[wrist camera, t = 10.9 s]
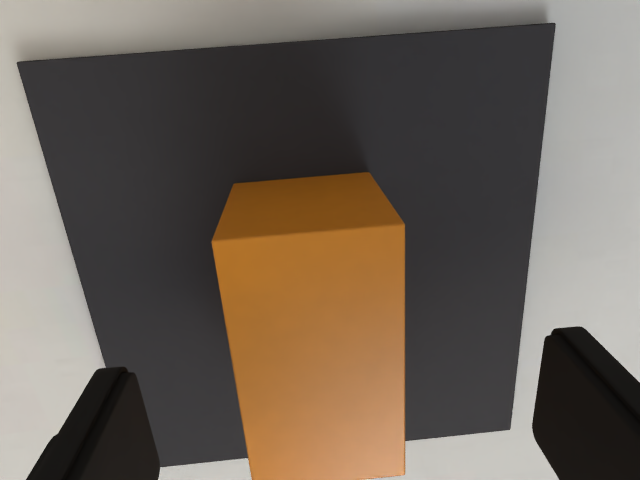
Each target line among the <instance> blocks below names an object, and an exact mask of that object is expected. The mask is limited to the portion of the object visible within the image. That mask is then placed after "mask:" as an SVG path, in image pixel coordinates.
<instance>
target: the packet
mask: <svg viewBox="0 0 640 480" xmlns="http://www.w3.org/2000/svg"><path fill="white" fill-rule="evenodd" d="M212 248H213V254H214V260H215V266H216V272H217V278H218V283H219V289H220V295H221V301H222V307H223V313H224V319H225V325H226V330H227V336H228V342H229V348H230V354H231V360H232V366H233V372H234V377H235V383H236V389H237V395H238V401H239V407H240V413H241V419H242V424H243V430H244V436H245V442H246V448H247V454H248V460H249V466H250V471H251V477H252V480H365V479H374V478H383V477H392V476H401V475H405V224H404V222H403V221H402V219H401V218H400V216H399V215H398V213H397V212H396V210H395V209H394V208H393V206H392V205H391V203H390V202H389V200H388V199H387V197H386V196H385V195H384V193H383V192H382V190H381V189H380V187H379V186H378V184H377V183H376V181H375V180H374V179H373V177H372V176H371V174H370V173H369V172H363V173H351V174H339V175H328V176H316V177H304V178H293V179H281V180H269V181H258V182H246V183H235V184H233V186H232V189H231V192H230V194H229V197H228V199H227V202H226V205H225V207H224V210H223V213H222V215H221V218H220V221H219V223H218V226H217V228H216V231H215V234H214V236H213V239H212Z"/></svg>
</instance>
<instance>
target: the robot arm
mask: <svg viewBox="0 0 640 480" xmlns="http://www.w3.org/2000/svg"><path fill="white" fill-rule="evenodd" d="M532 429H533V434H534V437H535V440H536V442H537V444H538V445H539V447H540V449H541V450H542V452H543V453H544V455H545V457H546V458H547V460H548V462H549V463H550V465H551V467H552V468H553V470H554V472H555V473H556V475H557V477H558V478H559V480H640V383H639V382H638V381H637V380H636V379H635V378H634V377H633V376H632V375H631V374H630V373H629V372H628V371H627V370H626V369H625V368H624V367H623V366H622V365H621V364H620V363H619V362H618V361H617V360H616V359H615V358H614V357H613V356H612V355H611V354H610V353H609V352H608V351H607V350H606V349H605V348H604V347H603V346H602V345H601V344H600V343H599V342H598V341H597V340H596V339H595V338H594V337H593V336H592V335H591V334H590V333H589V332H588V331H587V330H586V329H584V328H583V327H567V328H556V329H554V330H553V331H552V333H551V335H550V336H546V338H545V341H544V347H543V354H542V361H541V367H540V374H539V381H538V388H537V395H536V402H535V409H534V416H533V423H532ZM159 472H160V460H159V456H158V452H157V449H156V445H155V441H154V438H153V434H152V430H151V427H150V423H149V419H148V416H147V412H146V408H145V405H144V401H143V397H142V394H141V390H140V386H139V383H138V379H137V376H136V374H135V373H134V372H130V373H129V372H128V369H127V368H126V367H112V368H100V369H98V370H96V371H95V373H94V374H93V376H92V378H91V379H90V381H89V383H88V384H87V386H86V388H85V389H84V391H83V393H82V394H81V396H80V398H79V399H78V401H77V403H76V404H75V406H74V408H73V409H72V411H71V413H70V414H69V416H68V418H67V419H66V421H65V423H64V424H63V426H62V428H61V429H60V431H59V433H58V434H57V435H55V436H54V437H53V438H52V439H51V440H50V442H49V443H48V444H47V446H46V448H45V449H44V451H43V453H42V454H41V456H40V458H39V459H38V461H37V463H36V464H35V466H34V467H33V469H32V471H31V472H30V474H29V476H28V477H27V479H26V480H158V477H159Z"/></svg>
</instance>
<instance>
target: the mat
mask: <svg viewBox="0 0 640 480" xmlns="http://www.w3.org/2000/svg"><path fill="white" fill-rule="evenodd" d="M554 33H555V23H545V24H531V25H517V26H504V27H490V28H476V29H462V30H449V31H435V32H421V33H407V34H393V35H380V36H366V37H352V38H338V39H325V40H311V41H297V42H283V43H270V44H256V45H242V46H228V47H215V48H201V49H187V50H173V51H160V52H146V53H132V54H118V55H105V56H91V57H77V58H63V59H49V60H36V61H22V62H17V66H18V69H19V73H20V76H21V79H22V83H23V86H24V90H25V93H26V96H27V100H28V103H29V107H30V110H31V114H32V117H33V120H34V124H35V127H36V131H37V134H38V137H39V141H40V144H41V148H42V151H43V154H44V158H45V161H46V165H47V168H48V172H49V175H50V178H51V182H52V185H53V189H54V192H55V195H56V199H57V202H58V206H59V209H60V212H61V216H62V219H63V223H64V226H65V230H66V233H67V236H68V240H69V243H70V247H71V250H72V253H73V257H74V260H75V264H76V267H77V270H78V274H79V277H80V281H81V284H82V288H83V291H84V294H85V298H86V301H87V305H88V308H89V311H90V315H91V318H92V322H93V325H94V328H95V332H96V335H97V339H98V342H99V345H100V349H101V352H102V356H103V359H104V363H105V366H106V368H112V367H126V368H127V369H128V372H129V373H130V372H134V373H135V374H136V376H137V379H138V383H139V386H140V390H141V394H142V397H143V401H144V405H145V408H146V412H147V416H148V419H149V423H150V427H151V430H152V434H153V438H154V441H155V445H156V449H157V452H158V456H159V460H160V467H167V466H176V465H186V464H195V463H204V462H214V461H223V460H232V459H242V458H248V454H247V448H246V442H245V436H244V430H243V424H242V419H241V413H240V407H239V401H238V395H237V389H236V383H235V377H234V372H233V366H232V360H231V354H230V348H229V342H228V336H227V330H226V325H225V319H224V313H223V307H222V301H221V295H220V289H219V283H218V278H217V272H216V266H215V260H214V254H213V248H212V239H213V236H214V234H215V231H216V228H217V226H218V223H219V221H220V218H221V215H222V213H223V210H224V207H225V205H226V202H227V199H228V197H229V194H230V192H231V189H232V186H233V184H235V183H246V182H258V181H269V180H281V179H293V178H304V177H316V176H328V175H339V174H351V173H363V172H369V173H370V174H371V176H372V177H373V179H374V180H375V181H376V183H377V184H378V186H379V187H380V189H381V190H382V192H383V193H384V195H385V196H386V197H387V199H388V200H389V202H390V203H391V205H392V206H393V208H394V209H395V210H396V212H397V213H398V215H399V216H400V218H401V219H402V221H403V222H404V224H405V441H410V440H419V439H428V438H438V437H447V436H457V435H466V434H475V433H485V432H494V431H503V430H510V427H511V418H512V409H513V400H514V391H515V382H516V373H517V364H518V355H519V346H520V337H521V329H522V320H523V311H524V302H525V293H526V284H527V275H528V266H529V257H530V248H531V239H532V230H533V221H534V212H535V203H536V194H537V185H538V176H539V167H540V158H541V149H542V140H543V131H544V122H545V114H546V105H547V96H548V87H549V78H550V69H551V60H552V51H553V42H554Z"/></svg>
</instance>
